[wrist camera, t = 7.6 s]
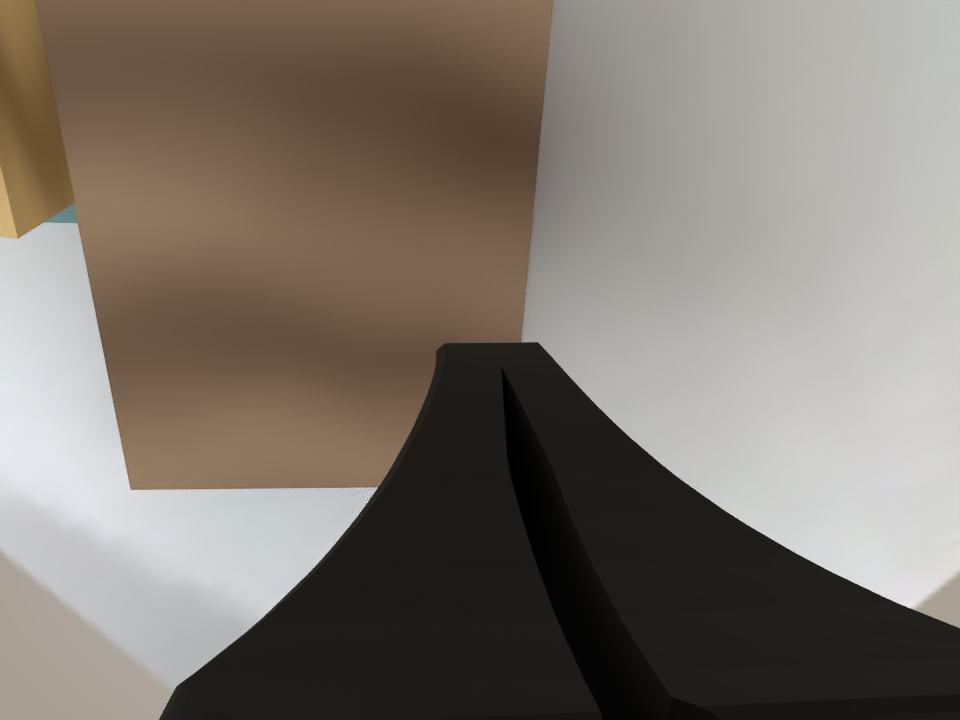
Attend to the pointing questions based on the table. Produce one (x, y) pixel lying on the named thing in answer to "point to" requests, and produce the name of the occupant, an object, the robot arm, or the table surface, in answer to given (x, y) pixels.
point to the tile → (28, 126)
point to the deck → (294, 218)
